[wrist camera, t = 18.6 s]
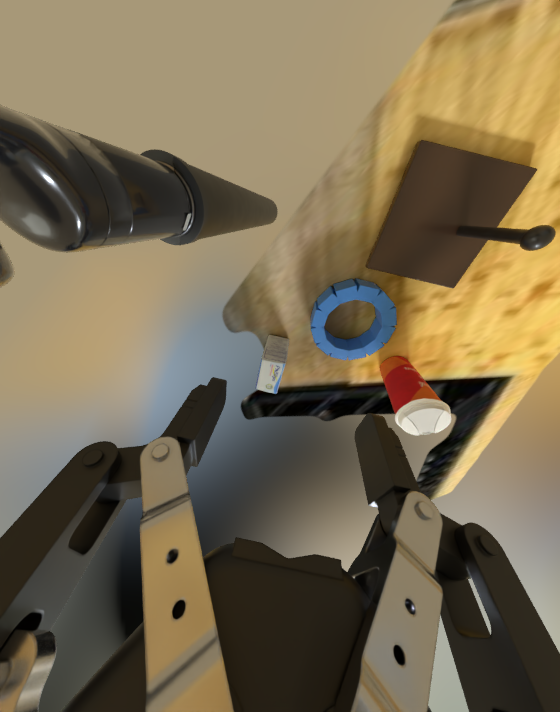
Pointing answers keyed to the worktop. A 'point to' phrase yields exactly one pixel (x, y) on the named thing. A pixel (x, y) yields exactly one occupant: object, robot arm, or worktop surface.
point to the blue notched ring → (369, 339)
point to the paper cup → (413, 398)
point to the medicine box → (272, 364)
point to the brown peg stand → (451, 214)
